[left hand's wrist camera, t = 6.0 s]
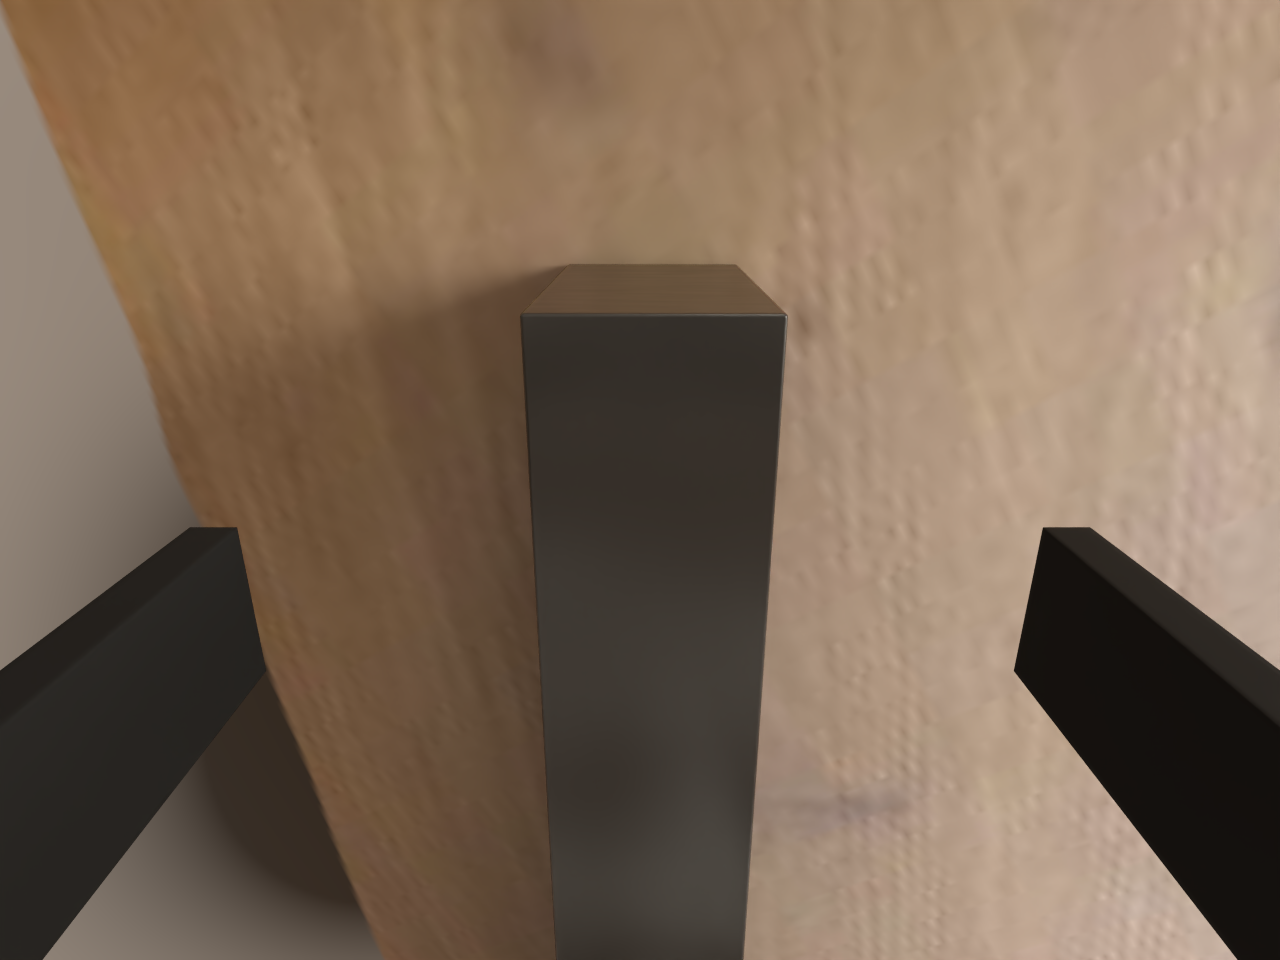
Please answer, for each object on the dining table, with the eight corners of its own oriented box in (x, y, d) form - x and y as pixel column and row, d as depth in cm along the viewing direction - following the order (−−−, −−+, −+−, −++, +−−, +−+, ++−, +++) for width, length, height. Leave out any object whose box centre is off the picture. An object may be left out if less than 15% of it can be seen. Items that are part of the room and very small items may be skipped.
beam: (567, 264, 23) (519, 313, 14) (737, 264, 23) (788, 314, 14) (592, 1035, 35) (575, 1305, 27) (702, 1037, 35) (719, 1307, 27)
